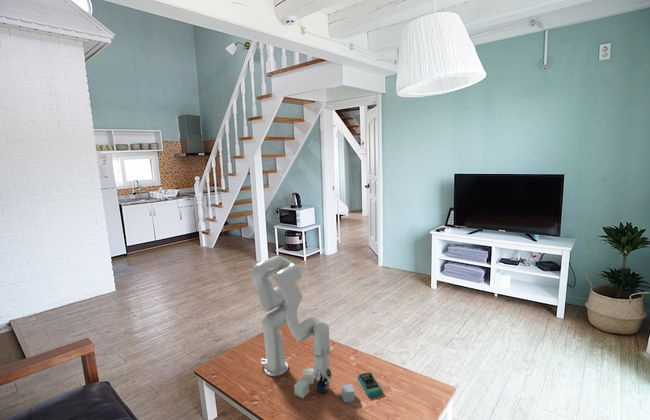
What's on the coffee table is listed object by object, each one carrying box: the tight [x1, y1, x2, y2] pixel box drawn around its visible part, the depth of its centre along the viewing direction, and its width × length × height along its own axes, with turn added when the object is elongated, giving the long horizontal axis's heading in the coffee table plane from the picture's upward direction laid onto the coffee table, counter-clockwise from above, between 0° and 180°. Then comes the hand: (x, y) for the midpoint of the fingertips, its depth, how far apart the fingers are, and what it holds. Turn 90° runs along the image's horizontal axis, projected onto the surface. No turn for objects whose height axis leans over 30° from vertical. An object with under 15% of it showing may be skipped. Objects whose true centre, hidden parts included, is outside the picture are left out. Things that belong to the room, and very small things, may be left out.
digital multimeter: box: [357, 372, 384, 398], centre depth 164 cm, size 7×15×3 cm, turn 15°
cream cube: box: [301, 368, 315, 385], centre depth 170 cm, size 5×5×5 cm
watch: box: [314, 367, 333, 394], centre depth 162 cm, size 6×8×11 cm
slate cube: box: [341, 383, 356, 403], centre depth 157 cm, size 5×5×5 cm
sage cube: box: [293, 378, 310, 399], centre depth 161 cm, size 5×5×5 cm
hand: (323, 384), depth 162 cm, fingers closed on watch, 3 cm apart
